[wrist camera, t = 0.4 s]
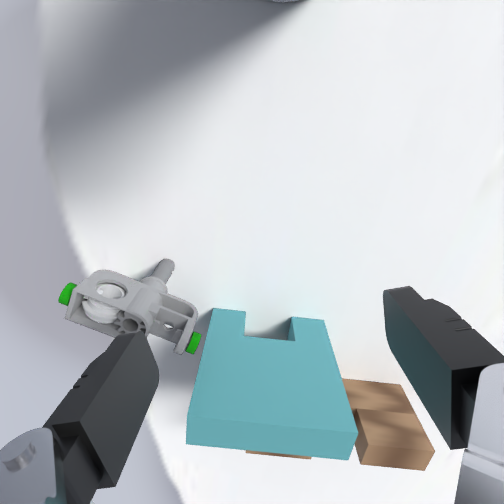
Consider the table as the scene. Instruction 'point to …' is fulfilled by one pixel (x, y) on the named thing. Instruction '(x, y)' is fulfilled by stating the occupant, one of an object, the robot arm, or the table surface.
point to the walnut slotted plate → (383, 427)
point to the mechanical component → (133, 306)
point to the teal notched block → (270, 392)
